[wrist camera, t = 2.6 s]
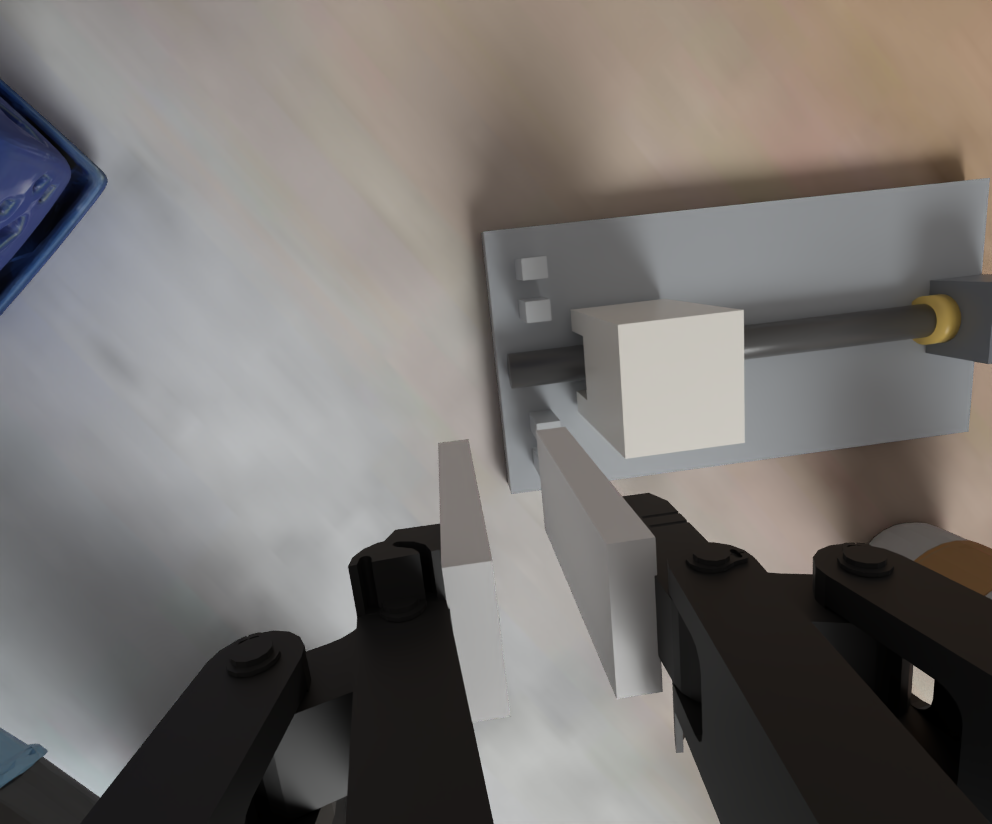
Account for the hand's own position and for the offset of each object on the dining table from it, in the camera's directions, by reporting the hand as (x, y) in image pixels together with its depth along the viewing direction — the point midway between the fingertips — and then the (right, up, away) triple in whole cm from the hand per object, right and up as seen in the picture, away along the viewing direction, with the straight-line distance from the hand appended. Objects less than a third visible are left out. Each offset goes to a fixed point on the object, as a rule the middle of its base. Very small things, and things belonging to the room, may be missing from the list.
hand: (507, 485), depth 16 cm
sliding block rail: (+13, +6, +19) cm, 24 cm away
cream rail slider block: (+6, +5, +17) cm, 18 cm away
